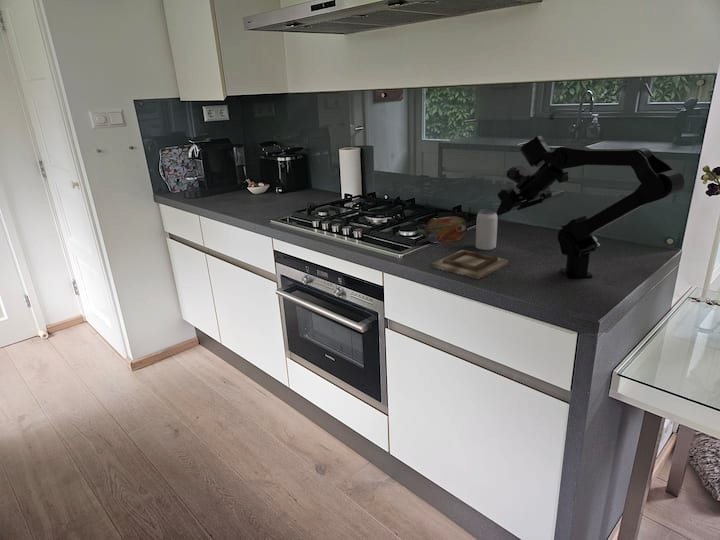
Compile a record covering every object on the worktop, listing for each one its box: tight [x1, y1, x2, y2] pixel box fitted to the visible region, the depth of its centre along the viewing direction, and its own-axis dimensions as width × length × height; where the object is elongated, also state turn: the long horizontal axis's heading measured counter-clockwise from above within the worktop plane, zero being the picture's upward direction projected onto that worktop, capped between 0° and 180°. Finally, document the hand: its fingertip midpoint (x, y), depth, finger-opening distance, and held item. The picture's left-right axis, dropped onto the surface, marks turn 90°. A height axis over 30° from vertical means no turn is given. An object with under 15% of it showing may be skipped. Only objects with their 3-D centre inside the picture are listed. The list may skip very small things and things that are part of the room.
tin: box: [424, 215, 468, 244], centre depth 166 cm, size 15×3×8 cm, turn 105°
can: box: [475, 209, 498, 251], centre depth 157 cm, size 6×6×12 cm
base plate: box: [431, 249, 509, 280], centre depth 144 cm, size 16×16×2 cm
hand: (507, 211), depth 149 cm, fingers open, 9 cm apart
